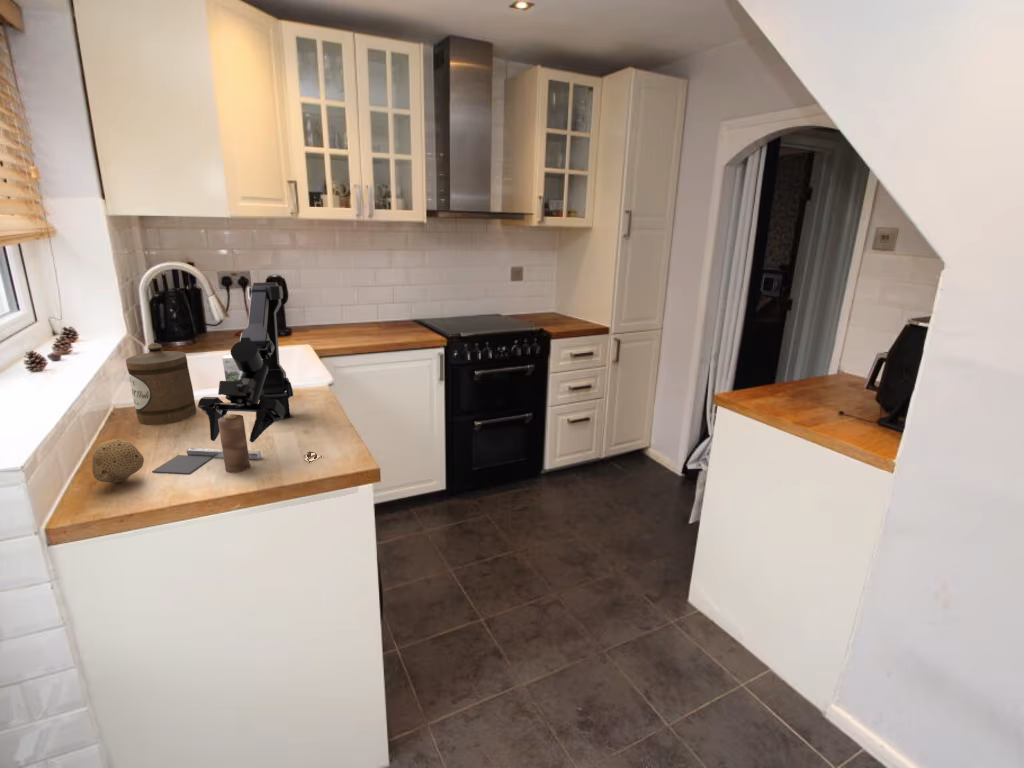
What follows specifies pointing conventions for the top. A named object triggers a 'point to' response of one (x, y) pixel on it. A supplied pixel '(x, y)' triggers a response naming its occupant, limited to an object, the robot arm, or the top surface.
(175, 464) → the grey square plate
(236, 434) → the brown thread spool
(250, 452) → the steel straightedge
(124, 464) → the natural sponge
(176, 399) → the wooden container
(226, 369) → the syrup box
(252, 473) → the top surface
